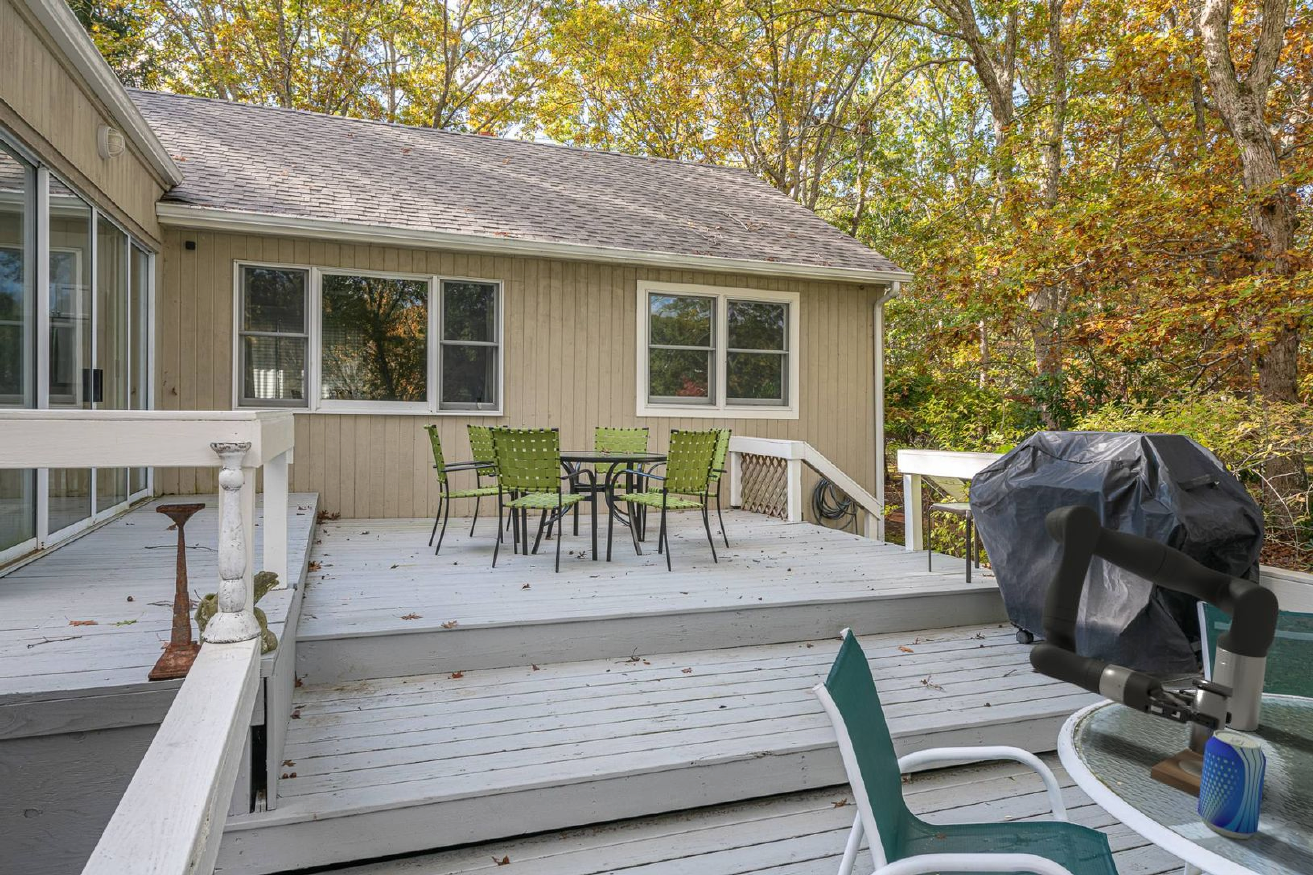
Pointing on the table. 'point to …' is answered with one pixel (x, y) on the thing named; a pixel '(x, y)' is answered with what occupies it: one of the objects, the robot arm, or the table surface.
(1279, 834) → the table surface
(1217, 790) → the beer can
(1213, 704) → the grey cylinder
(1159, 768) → the block
